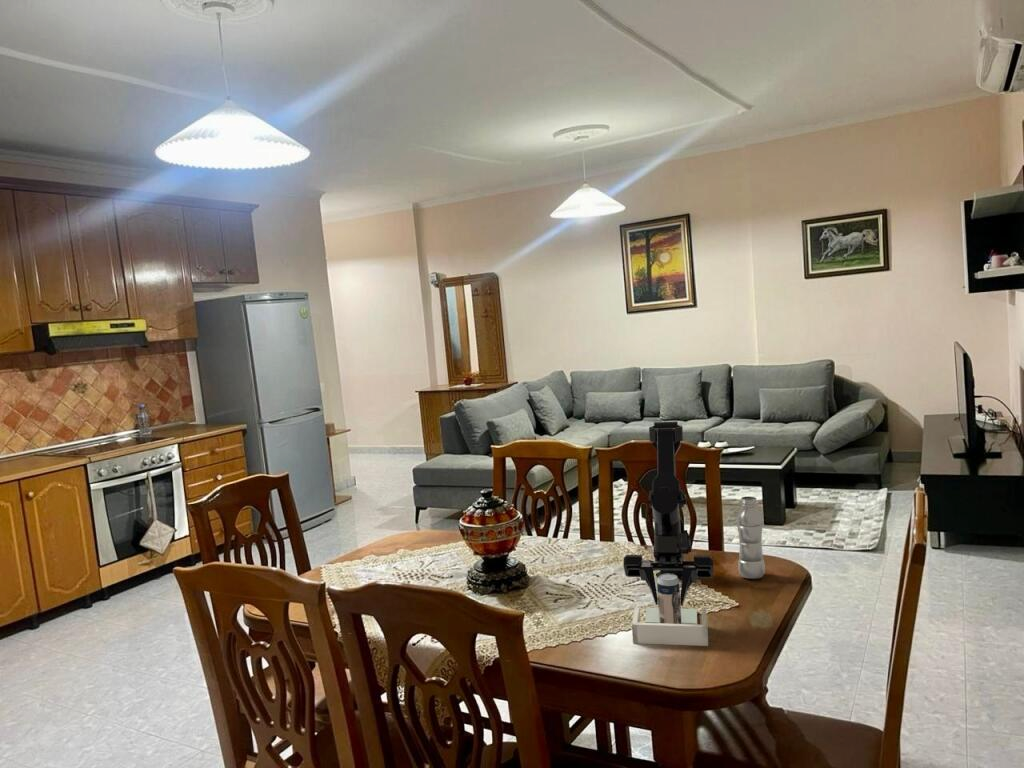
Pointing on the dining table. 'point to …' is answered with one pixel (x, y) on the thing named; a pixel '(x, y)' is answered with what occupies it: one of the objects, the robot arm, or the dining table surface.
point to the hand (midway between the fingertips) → (669, 604)
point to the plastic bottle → (750, 539)
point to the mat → (686, 616)
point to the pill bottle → (669, 599)
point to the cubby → (669, 632)
